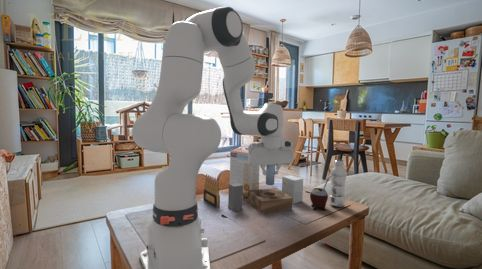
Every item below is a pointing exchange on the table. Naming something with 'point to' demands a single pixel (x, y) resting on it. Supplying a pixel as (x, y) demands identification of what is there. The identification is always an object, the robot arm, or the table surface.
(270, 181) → the blue-gray rectangular block
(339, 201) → the plastic bottle
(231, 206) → the square peg
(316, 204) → the mate gourd
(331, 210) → the table surface
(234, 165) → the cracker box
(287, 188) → the small box
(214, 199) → the ammunition clip
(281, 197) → the socket block
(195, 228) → the robot arm
